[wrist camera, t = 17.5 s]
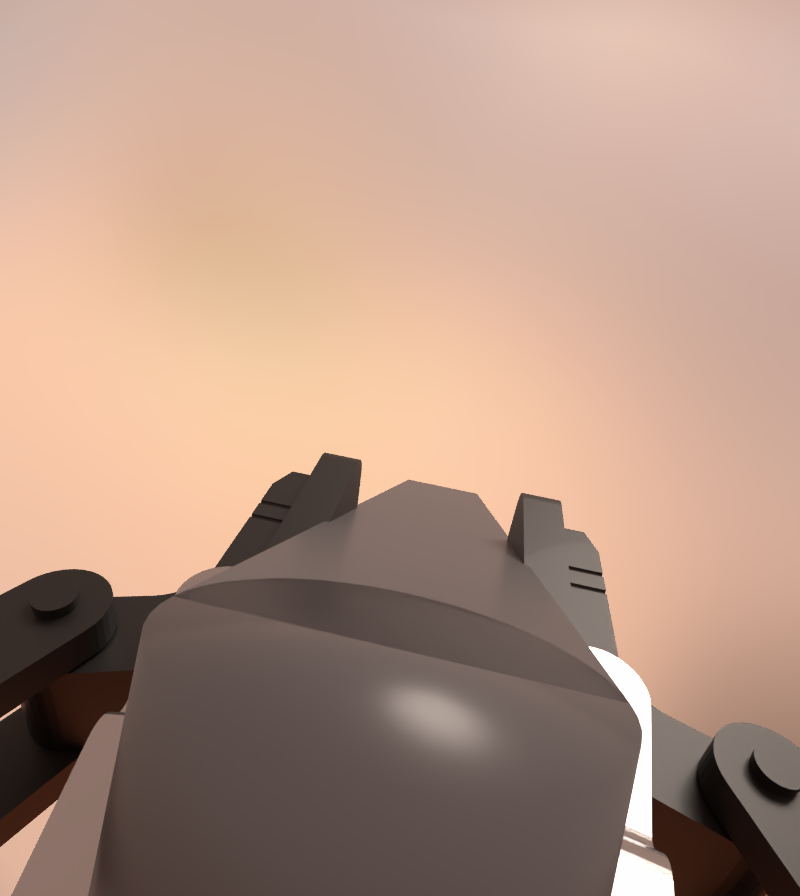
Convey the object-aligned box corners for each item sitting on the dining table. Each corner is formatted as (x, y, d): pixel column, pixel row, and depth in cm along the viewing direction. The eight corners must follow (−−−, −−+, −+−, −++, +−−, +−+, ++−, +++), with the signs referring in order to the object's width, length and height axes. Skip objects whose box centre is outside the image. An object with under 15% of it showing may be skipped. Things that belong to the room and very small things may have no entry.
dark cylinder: (629, 1520, 2) (760, 878, 2) (-120, 1249, 3) (-5, 683, 3) (464, 541, 29) (474, 491, 29) (401, 527, 29) (411, 478, 29)
